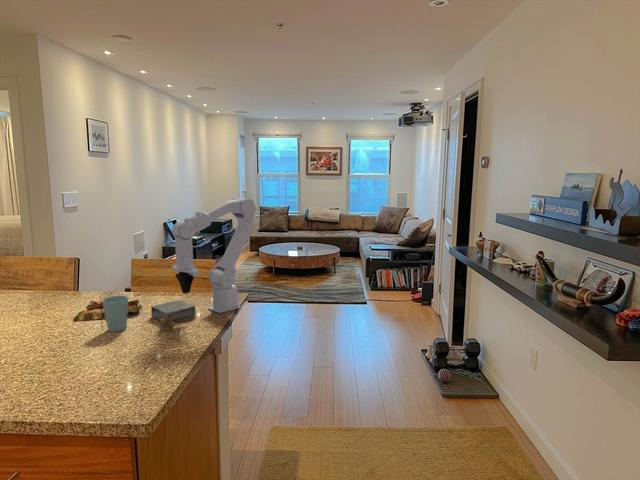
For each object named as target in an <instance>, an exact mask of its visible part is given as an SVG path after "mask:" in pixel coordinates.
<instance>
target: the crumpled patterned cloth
mask: <svg viewBox="0 0 640 480" xmlns="http://www.w3.org/2000/svg"><path fill="white" fill-rule="evenodd" d="M138 305H139V306H138ZM85 309H87V310H81V311H78V314H77V315H76V316H74V317H73V321H74V322H80V321H82V322H84V321H94V320H99V321H100V320H101V319H102V320H104V321H106V316H105V311H104V307H103V302H102V301H95V300H91V301H90V302H89V304H88V305H87V306H85ZM141 309H143V306H142V304H140V300H139V299H134V300H130V301H129V300H128V311H127V313H130V314H136V313H137V312H141V311H142V310H141ZM140 310H141V311H140Z"/></svg>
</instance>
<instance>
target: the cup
mask: <svg viewBox="0 0 640 480" xmlns="http://www.w3.org/2000/svg"><path fill="white" fill-rule="evenodd" d="M101 302H103V307H104V311H105V316H106V320H105V322H106V326H107V330H108V332H110V333H119V332H121V331H124V330H127V328H128V327H127V325H128V312H127V311H128V302H129V296H127V295H114V296H109V297H105V298H103V299H102V300H101Z"/></svg>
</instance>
